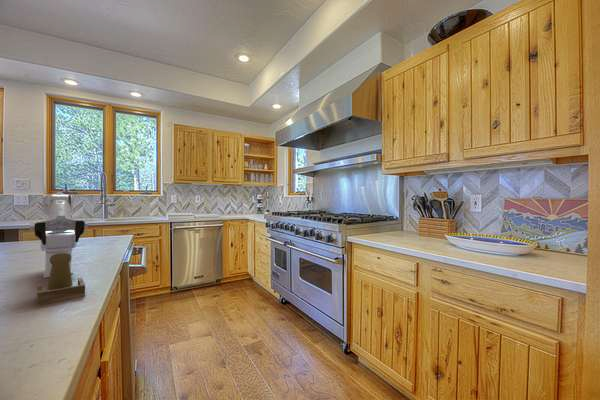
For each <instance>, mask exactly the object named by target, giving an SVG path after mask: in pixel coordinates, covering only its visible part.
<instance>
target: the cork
mask: <svg viewBox="0 0 600 400" xmlns="http://www.w3.org/2000/svg"><path fill="white" fill-rule="evenodd" d="M70 261H71V262H72V259H71V255H70V254H68V253H59V254H55V255H52V256H51V257H50V263H51V264H52V267H51V272H50V277H48V282H47V283H48V284H47V288H46V289H47V291H49V290H55V289H60V288H66V287H72V286H74V285H73V277H72V274H71V272H70V265H69V262H70Z"/></svg>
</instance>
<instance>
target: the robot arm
mask: <svg viewBox="0 0 600 400" xmlns="http://www.w3.org/2000/svg"><path fill="white" fill-rule="evenodd" d="M73 204H74V197H73V196H72V194H66V193H63V192H62V191H57V192H56V193H51V194H44V195H43V196H42V212H43V214H44V215H46V216H48V218H49V219H45V220H40V221H36V222H30V223H29V232H34V236H35V237H36V238H38V239H39V240H40V251H42V252H45V256H44V257H45V258H44V259H45V260H44V262H45V264H44V271H43V276H42V277H43V278H44V279H45V278H49V277H50V272H51V267H52V264H51V263H50V257H51V256H52V255H55V254H59V253H68V254H70V255H71V261H70V262H69V265H70V272H71V275H72V274H74V269H73V268H72V255H73V254H72V253H73V252H72V251H73V249H75V248H76V247H77V243H78V242H79V239H80V238H81V236H82V235H83V234H84V232H85V229H88V228H89V221H88V220H80V219H76V218H72V214H73V213H72V212H73V207H74V205H73Z"/></svg>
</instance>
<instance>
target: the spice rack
mask: <svg viewBox="0 0 600 400" xmlns="http://www.w3.org/2000/svg"><path fill="white" fill-rule="evenodd" d="M36 290H37V291H36V306H42V305H46V304H51V303H55V302H56V303H57V302H62V301H66V300H72V299H77V298H82V297H85V296H86V284H85V281H84V278H83V277H78V278H77V285H72V286H71V287H66V288H60V289H55V290H44V283H38V284H37V289H36ZM43 290H44V291H43Z"/></svg>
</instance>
